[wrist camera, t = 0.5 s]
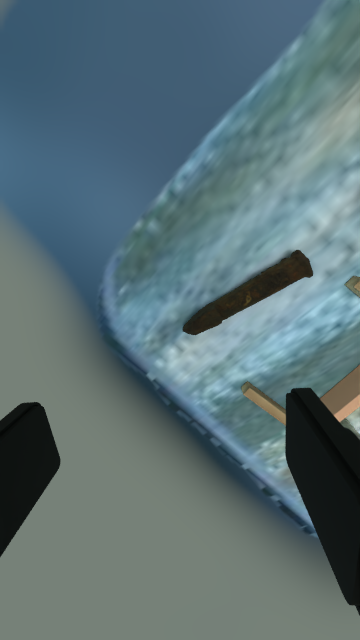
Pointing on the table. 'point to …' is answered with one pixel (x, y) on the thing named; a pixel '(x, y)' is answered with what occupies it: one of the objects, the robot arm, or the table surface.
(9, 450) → the robot arm
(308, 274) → the dark brown log
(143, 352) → the table surface
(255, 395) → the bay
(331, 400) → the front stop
